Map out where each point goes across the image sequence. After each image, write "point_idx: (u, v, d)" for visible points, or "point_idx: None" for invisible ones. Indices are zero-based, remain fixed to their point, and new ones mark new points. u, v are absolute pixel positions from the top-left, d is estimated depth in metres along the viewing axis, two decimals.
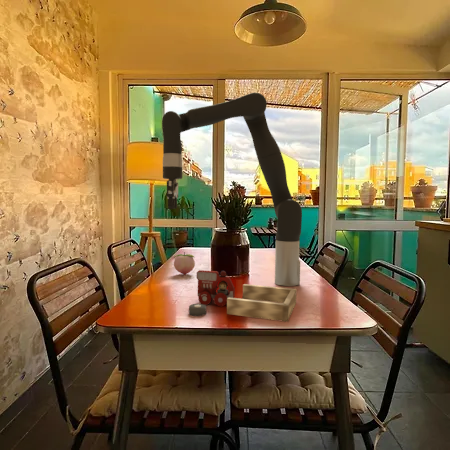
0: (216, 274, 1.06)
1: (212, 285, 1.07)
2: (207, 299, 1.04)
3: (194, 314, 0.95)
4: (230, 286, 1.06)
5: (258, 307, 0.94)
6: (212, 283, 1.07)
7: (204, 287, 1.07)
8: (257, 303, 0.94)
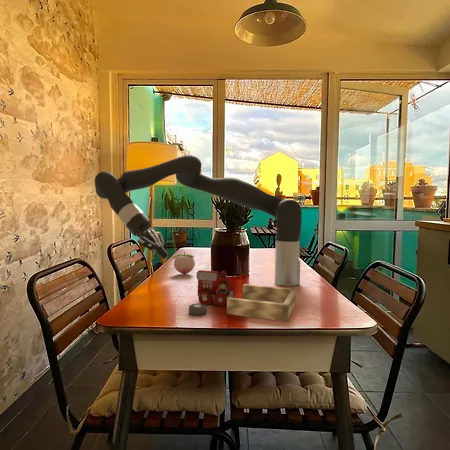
0: (216, 274, 1.06)
1: (212, 285, 1.07)
2: (207, 299, 1.04)
3: (194, 314, 0.95)
4: (230, 286, 1.06)
5: (258, 307, 0.94)
6: (212, 283, 1.07)
7: (204, 287, 1.07)
8: (257, 303, 0.94)
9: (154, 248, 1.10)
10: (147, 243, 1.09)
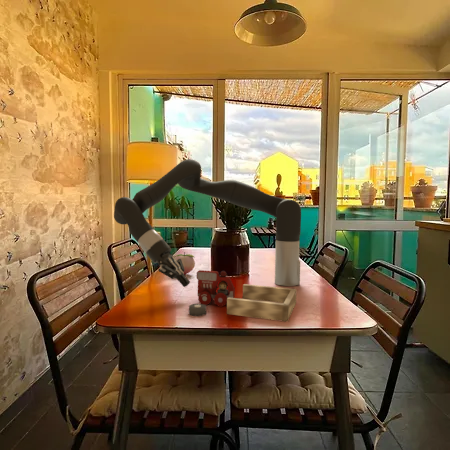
0: (216, 274, 1.06)
1: (212, 285, 1.07)
2: (207, 299, 1.04)
3: (194, 314, 0.95)
4: (230, 286, 1.06)
5: (258, 307, 0.94)
6: (212, 283, 1.07)
7: (204, 287, 1.07)
8: (257, 303, 0.94)
9: (175, 276, 1.09)
10: (168, 272, 1.07)
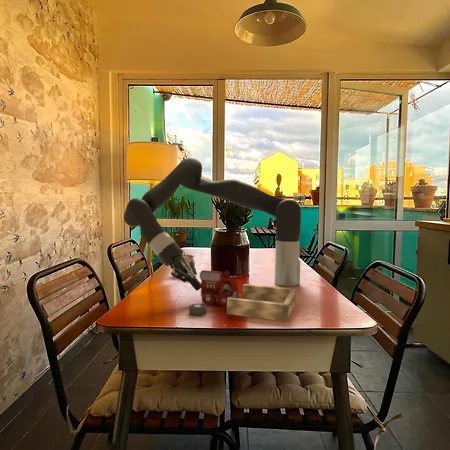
0: (220, 274, 1.06)
1: (215, 285, 1.06)
2: (211, 299, 1.04)
3: (194, 314, 0.95)
4: (234, 286, 1.05)
5: (258, 307, 0.94)
6: (216, 283, 1.06)
7: (208, 287, 1.06)
8: (257, 303, 0.94)
9: (188, 279, 1.07)
10: (181, 275, 1.05)
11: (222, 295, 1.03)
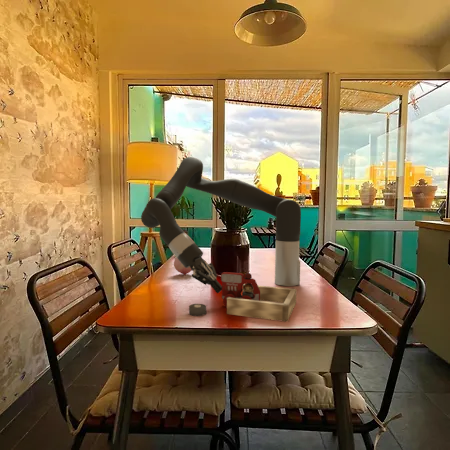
0: (241, 276, 1.03)
1: (237, 287, 1.04)
2: None
3: (194, 314, 0.95)
4: (256, 289, 1.02)
5: (258, 307, 0.94)
6: (237, 285, 1.04)
7: (229, 290, 1.04)
8: (257, 303, 0.94)
9: (209, 282, 1.04)
10: (202, 277, 1.03)
11: (244, 298, 1.00)
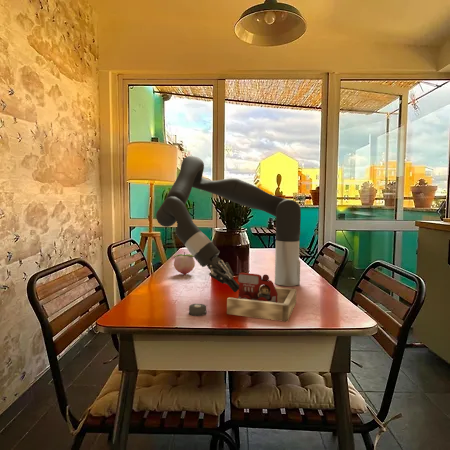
0: (258, 277, 1.02)
1: (254, 289, 1.02)
2: None
3: (194, 314, 0.95)
4: (273, 291, 1.00)
5: (258, 307, 0.94)
6: (254, 287, 1.02)
7: (245, 291, 1.03)
8: (257, 303, 0.94)
9: (226, 280, 1.03)
10: (219, 276, 1.02)
11: (260, 299, 0.99)
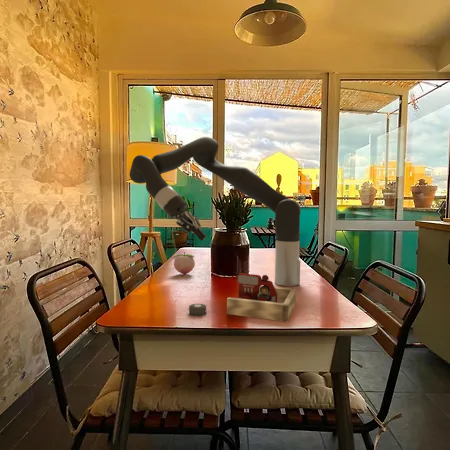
0: (258, 278, 1.02)
1: (253, 289, 1.02)
2: None
3: (194, 314, 0.95)
4: (272, 291, 1.00)
5: (258, 307, 0.94)
6: (254, 287, 1.02)
7: (245, 291, 1.03)
8: (257, 303, 0.94)
9: (192, 229, 1.11)
10: (186, 224, 1.10)
11: (260, 300, 0.99)
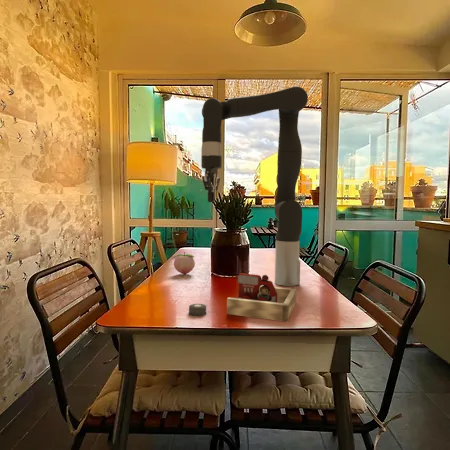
0: (258, 278, 1.02)
1: (253, 289, 1.02)
2: None
3: (194, 314, 0.95)
4: (272, 291, 1.00)
5: (258, 307, 0.94)
6: (254, 287, 1.02)
7: (245, 291, 1.03)
8: (257, 303, 0.94)
9: (209, 190, 1.23)
10: (207, 184, 1.21)
11: (260, 300, 0.99)
